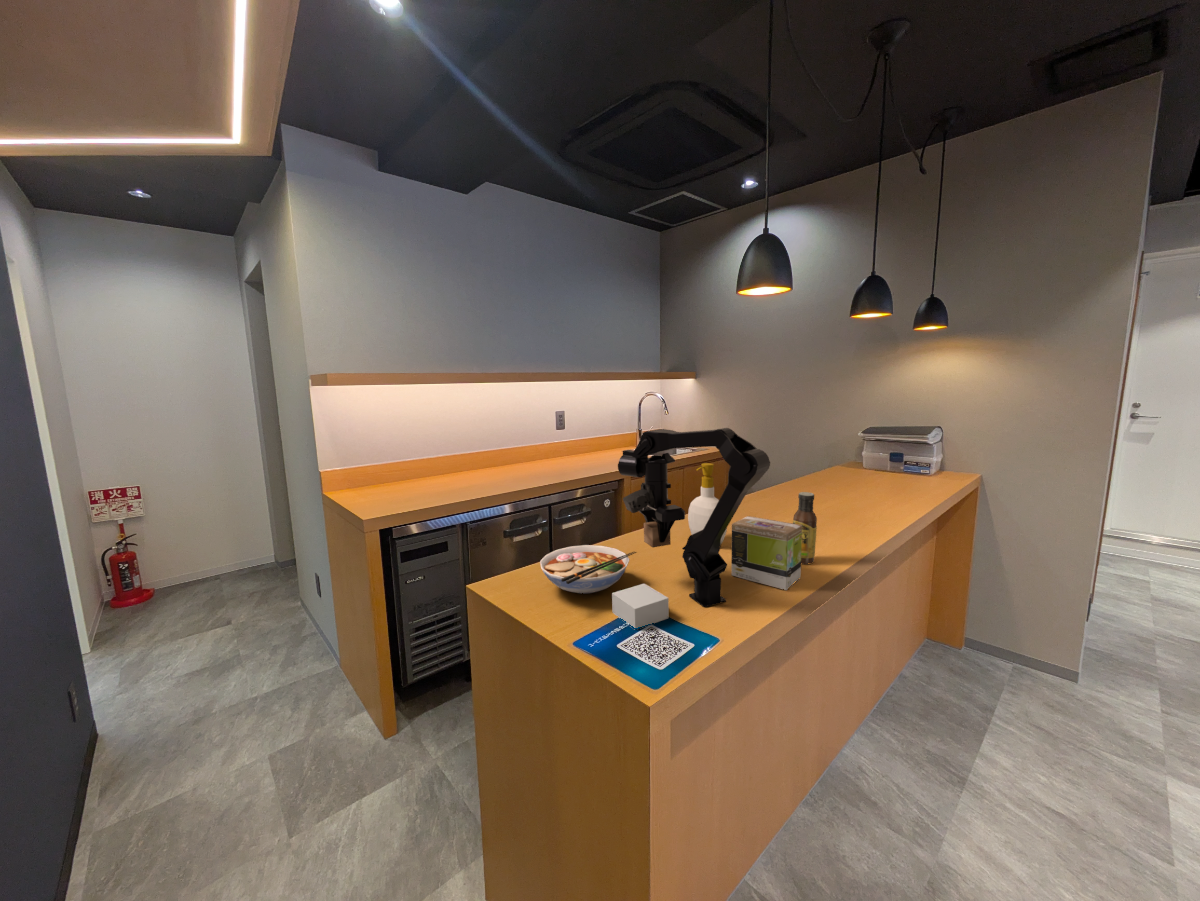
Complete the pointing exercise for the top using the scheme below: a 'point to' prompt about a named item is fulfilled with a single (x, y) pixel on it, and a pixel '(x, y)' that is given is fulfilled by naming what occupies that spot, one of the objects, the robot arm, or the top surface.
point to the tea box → (766, 551)
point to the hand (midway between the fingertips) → (657, 539)
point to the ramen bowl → (585, 567)
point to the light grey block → (640, 605)
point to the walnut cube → (654, 535)
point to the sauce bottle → (806, 526)
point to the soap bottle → (703, 502)
